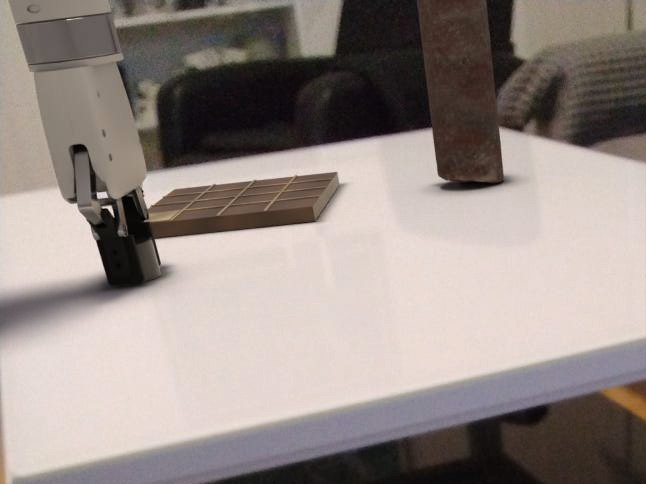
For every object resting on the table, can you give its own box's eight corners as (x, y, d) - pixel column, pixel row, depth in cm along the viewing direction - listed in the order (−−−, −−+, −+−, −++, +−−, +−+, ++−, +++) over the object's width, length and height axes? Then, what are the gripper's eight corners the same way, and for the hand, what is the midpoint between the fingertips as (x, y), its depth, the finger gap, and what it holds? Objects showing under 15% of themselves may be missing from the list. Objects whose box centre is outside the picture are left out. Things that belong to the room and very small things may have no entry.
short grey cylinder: (105, 287, 91) (94, 249, 89) (120, 274, 95) (110, 238, 93) (153, 282, 91) (143, 244, 89) (166, 269, 94) (157, 233, 93)
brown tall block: (454, 193, 111) (431, -25, 100) (426, 185, 116) (401, -22, 105) (515, 181, 113) (500, -34, 102) (485, 174, 119) (467, -31, 108)
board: (128, 240, 107) (123, 224, 106) (177, 202, 124) (173, 188, 123) (315, 221, 106) (312, 205, 105) (339, 185, 123) (337, 170, 122)
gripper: (63, 43, 90) (124, 257, 100) (-17, 59, 76) (63, 307, 86) (146, 33, 89) (198, 249, 99) (81, 48, 75) (150, 298, 85)
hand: (135, 274), depth 93 cm, fingers closed on short grey cylinder, 4 cm apart
